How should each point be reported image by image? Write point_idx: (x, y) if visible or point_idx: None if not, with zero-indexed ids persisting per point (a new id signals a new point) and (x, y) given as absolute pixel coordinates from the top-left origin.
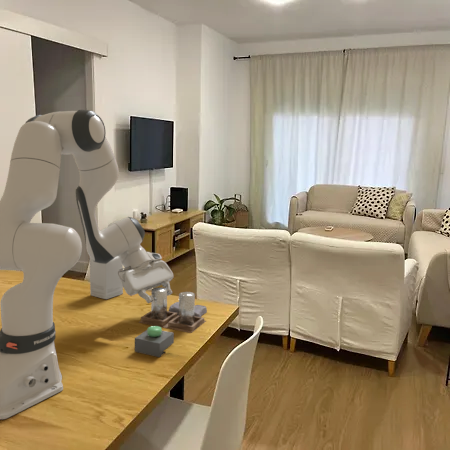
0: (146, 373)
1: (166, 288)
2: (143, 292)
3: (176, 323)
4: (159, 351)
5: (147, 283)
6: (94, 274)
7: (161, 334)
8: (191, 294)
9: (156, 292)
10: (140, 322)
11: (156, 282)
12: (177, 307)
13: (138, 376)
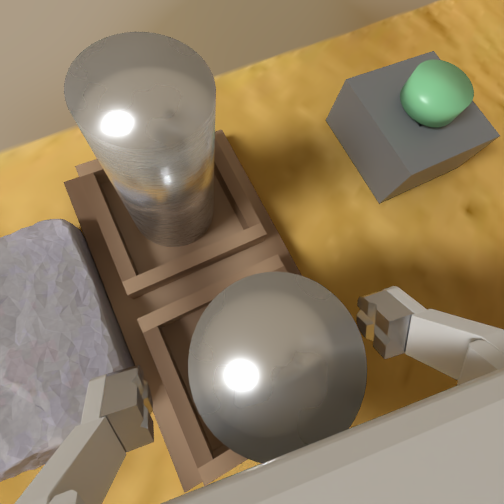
0: (467, 53)
1: (105, 466)
2: (499, 329)
3: (241, 197)
4: None
5: (495, 410)
6: None
7: (395, 97)
8: (113, 60)
9: (343, 308)
10: None
11: (304, 454)
12: (103, 346)
13: (490, 55)
